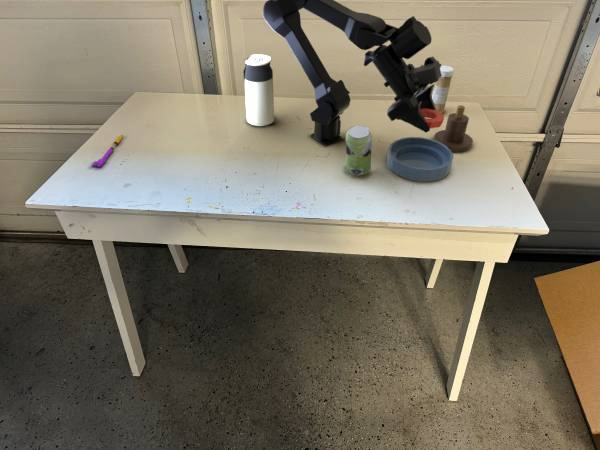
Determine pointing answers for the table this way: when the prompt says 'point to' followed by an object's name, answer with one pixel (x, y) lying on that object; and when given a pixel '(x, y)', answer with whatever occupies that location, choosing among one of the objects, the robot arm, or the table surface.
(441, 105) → the sprinkles bottle
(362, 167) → the beverage can
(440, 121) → the ring
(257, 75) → the travel mug
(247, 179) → the table surface
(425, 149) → the dish
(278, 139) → the table surface
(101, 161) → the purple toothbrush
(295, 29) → the robot arm
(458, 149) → the ring stand
